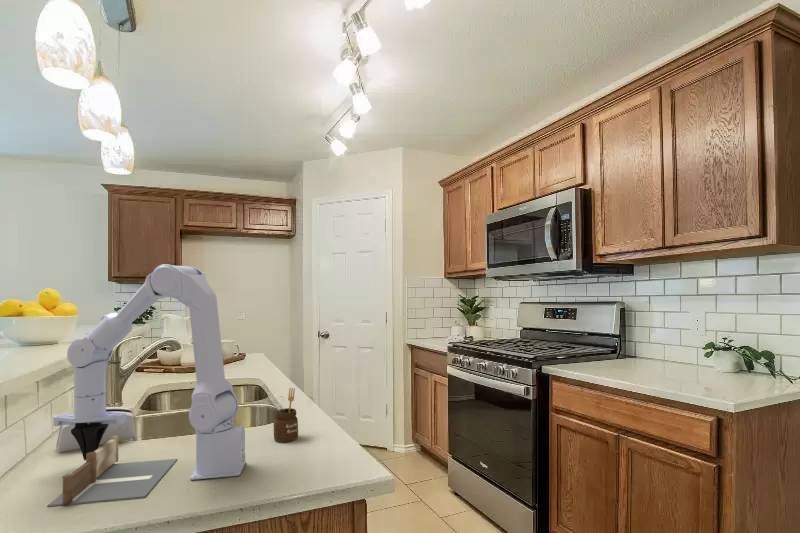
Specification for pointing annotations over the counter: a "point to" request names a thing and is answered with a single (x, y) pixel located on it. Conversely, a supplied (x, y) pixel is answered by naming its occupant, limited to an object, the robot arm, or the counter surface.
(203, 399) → the robot arm
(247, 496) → the counter surface
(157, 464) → the mat
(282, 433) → the utensil holder
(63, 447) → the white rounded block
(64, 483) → the fence post and rail
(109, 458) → the fence panel
